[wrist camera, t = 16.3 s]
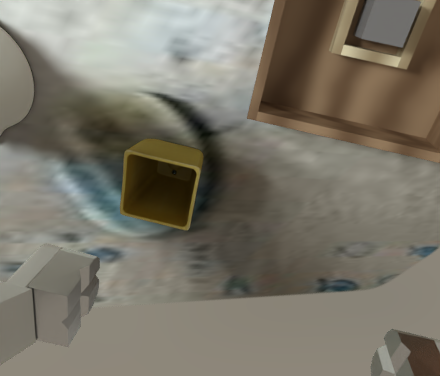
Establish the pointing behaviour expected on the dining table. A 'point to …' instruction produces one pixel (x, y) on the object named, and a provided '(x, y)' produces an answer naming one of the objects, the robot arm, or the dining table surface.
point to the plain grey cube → (386, 21)
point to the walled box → (351, 78)
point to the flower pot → (160, 182)
